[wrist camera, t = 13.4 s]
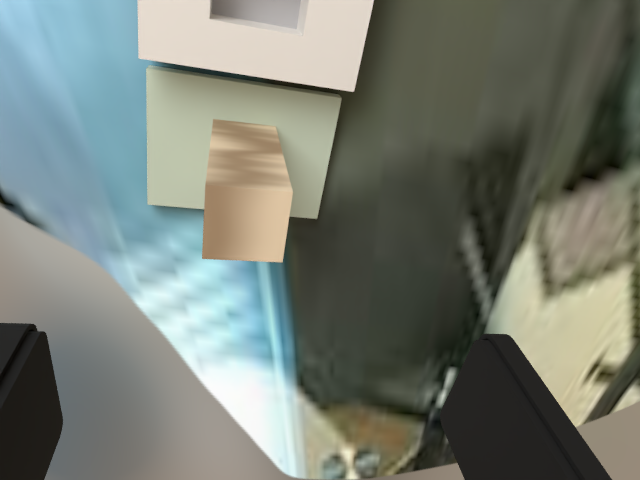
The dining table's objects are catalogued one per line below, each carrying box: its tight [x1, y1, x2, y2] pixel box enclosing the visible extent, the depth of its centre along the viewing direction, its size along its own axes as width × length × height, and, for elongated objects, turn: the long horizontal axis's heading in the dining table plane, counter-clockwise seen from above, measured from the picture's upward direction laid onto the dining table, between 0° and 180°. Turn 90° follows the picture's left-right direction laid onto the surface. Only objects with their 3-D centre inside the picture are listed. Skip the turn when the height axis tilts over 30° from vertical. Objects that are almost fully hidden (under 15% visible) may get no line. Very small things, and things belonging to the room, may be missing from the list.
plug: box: [202, 119, 293, 262], centre depth 26 cm, size 4×4×10 cm
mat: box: [146, 65, 342, 219], centre depth 30 cm, size 12×9×1 cm
